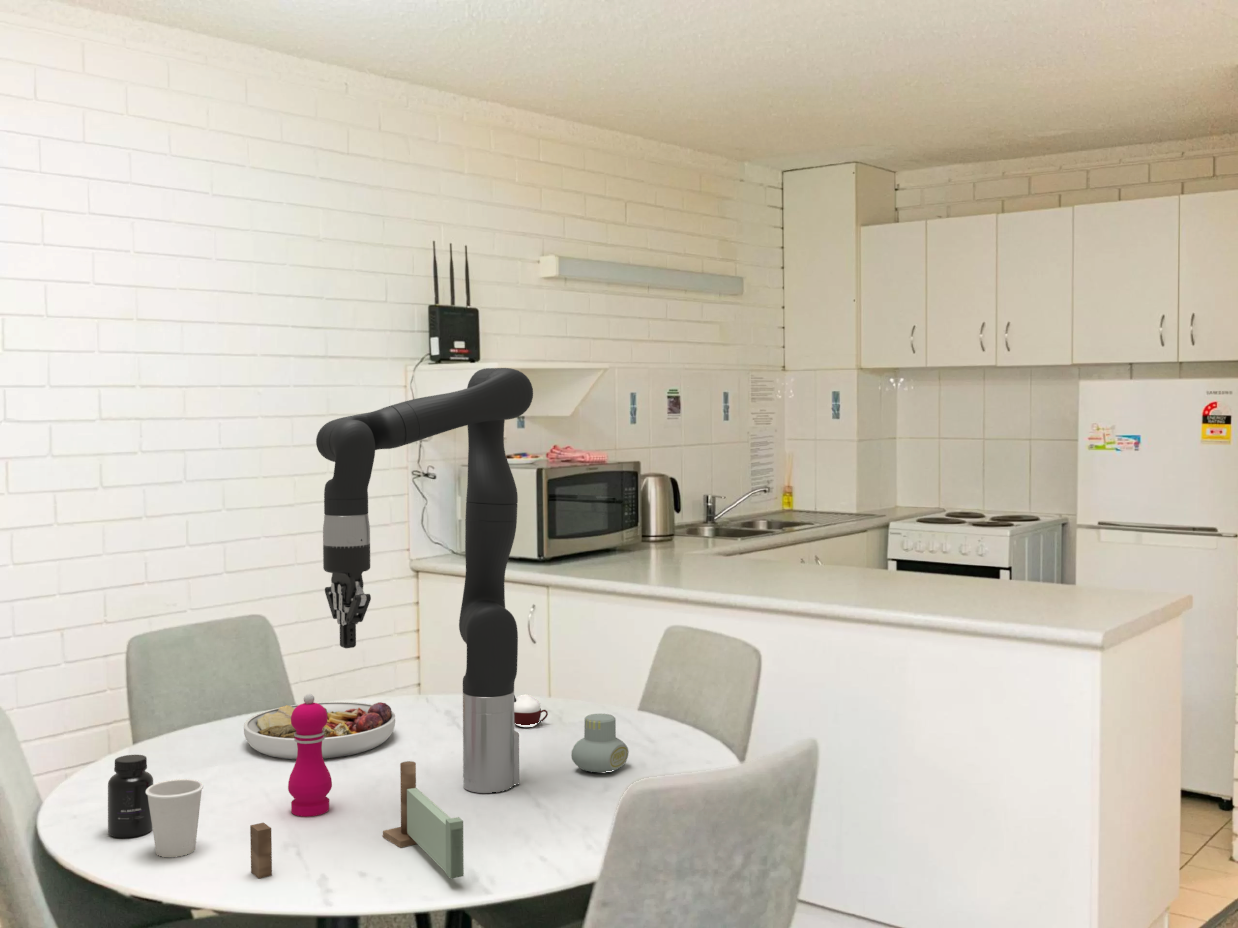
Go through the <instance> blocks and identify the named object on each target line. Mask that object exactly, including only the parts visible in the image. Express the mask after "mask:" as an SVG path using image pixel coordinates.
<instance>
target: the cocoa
mask: <svg viewBox="0 0 1238 928" xmlns="http://www.w3.org/2000/svg"><path fill="white" fill-rule="evenodd" d="M544 712H545V716H544V717H543V718H541V715H542V713H544ZM548 715H549V713H548V711H547V710H546V709H541V703H540V701H539V700H538V699H537V698H536V697H534V696H533V695H531V694H525V693H524V694H520V695H517V697H516V695H515V694H514V724H515V723H516V724H521V725H530V724H535V723H538V722H539V721H542V722H543V721H545V719H546V718H547V717H548ZM516 724H515V725H516Z"/></svg>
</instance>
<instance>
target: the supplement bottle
mask: <svg viewBox="0 0 1238 928" xmlns="http://www.w3.org/2000/svg"><path fill="white" fill-rule="evenodd" d="M147 761H148V759H147V756H145V755H143V754H127V755H122V756H118V757H117V758H115V759H114V767H113V772H115V774H113V775H112V776H111V777H110V778H109V779H108V783H107V831H108V834H109V836H111V837H113V838H116V839H117V838H118V839H130V838H138V837H141V836H145V835H147V834H149V833H150V832H151V831H153V828H152V821H151V815H150V808H149V802H148V795H147V794H146V789H147V788H148V787H150V786H151V785H153V784H154V776H152V774H151V773H149V772H148V771H146V770H147V769H148V764H147V763H148V762H147Z"/></svg>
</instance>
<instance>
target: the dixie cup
mask: <svg viewBox="0 0 1238 928" xmlns="http://www.w3.org/2000/svg"><path fill="white" fill-rule="evenodd" d="M203 789H204V784H203V783H202V782H201V781H199V780H197V779H192V778H191V779H190V778H189V779H187V778H181V779H180V778H179V779H177V778H176V779H169V780H164V781H159V782H156V783H153V785H151V786H150V787H148V788H147V789H146V794H147V795H148V802H149V808H150V815H151V821H152V832H153V833H152V834H153V840H154V846H155V847H154V848H155V853H156V855H157V856H158V855H159V856H158V857H160V856H162V857H161V858H164V857H175V858H177V857H176V856H181V857H183V856H182V855H185V856H187V854H188V855H190V854H192V853H193V851H194V850H196V846H197V845H196V844H197V835H198V826H199V818H200V817H199V816H200V810H201V809H200V808H201V801H202V800H201V799H202V790H203ZM194 852H195V851H194Z"/></svg>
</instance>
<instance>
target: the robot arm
mask: <svg viewBox="0 0 1238 928" xmlns="http://www.w3.org/2000/svg"><path fill="white" fill-rule="evenodd" d="M533 397H534V390H533V385H532V382H531V380H530V378H529V377H528V376H527V375H526V374H525V373H523V372H522V371H520V370H518V369H514V368H512V367H511V368H509V367H492V368H490V367H488V368H485V367H484V368H482V369H478V370H477V371H476V372H474V373H473V375H472V376H471V377H470V379H469V381H468V383H467V387H466V388H464V389H460V390H457V391H451V392H447V393H441V394H436V395H429V396H424V397H419V398H414V399H410V400H409V399H408V400H405V401H401V402H399V403H395V404H392V405H391V404H390V405H388V406H385V407H381V408H380V409H377V410H374V411H370V412H365V413H359V414H352V415H348V416H344V417H340V418H337V419H333V420H331V421H330V420H329V421H328V422H326V423H325V424H323V425H322V426H321V428H320V429H319V431H318V433H317V434H316V439H315V442H316V443H315V445H316V448H317V450H318V452H319V454H320V455H321V456H322V457H323V458H324V459H326V460H328V461H329V462H334V469H333V476H332V478H330V479H329V480H328V481H326V483H325V484H324V491H323V498H324V499H323V503H324V504H323V505H324V506H323V512H324V513H323V514H324V515H323V517H324V518H323V524H322V525H323V526H322V557H323V558H322V561H323V563H322V564H323V566H322V567H323V568H322V569H323V571H324V572H326V573H328V574H329V573H331V580H330V581H331V584H330V586H326V587H324V594H325V597H326V601H327V603H328V607H329V609H330V613H331V616H332V619H333V620H336V621H337V624H338V625H339V646H340V647H341V648H343V649H353V648H355V647H356V645H357V625H358V624H359V623H362V622H363V621H364V619H365V616H366V613H367V612H368V611H367V610H368V607H369V605H370V603H371V600H372V596H371V594H370V593H365V592H364V580H363V573H364V572H367V571H369V570H370V569H371V525H370V519H369V492H368V489H369V484H370V481H371V477H372V472H373V468H374V467H373V466H374V462H375V457H376V451H378V450H390V449H391V450H392V449H397V448H400V447H402V446H406V445H409V444H413V443H415V442H418V441H421V440H424V439H427V438H430V437H434V436H436V435H440V434H443V433H445V432H449V431H453V430H456V429H458V428H462V427H467V436H468V437H467V440H468V443H467V444H468V452H467V482H466V483H467V486H466V497H465V498H466V499H465V501H466V502H465V520H464V521H465V525H464V526H465V531H464V534H465V536H464V538H465V540H464V542H465V543H464V545H465V546H464V551H465V552H464V553H465V554H464V555H465V557H464V558H465V579H464V586H463V592H462V593H463V594H462V601H461V607H460V613H459V620H458V621H459V622H458V629H459V634H460V636H461V638H462V641H463V642H464V643H465V644H466V666H465V667H466V670H465V674H464V676H463V678H462V763H463V766H462V769H463V770H462V771H463V773H462V779H463V780H462V781H463V782H462V783H463V788H464V789H465V790H466V791H469V792H473V793H478V794H493V793H492V792H496V793H500V791H502V792H504V791H503V790H506V791H508V790H507V789H509V788H510V787H512V786H513V785H514V784H518V783H519V784H520V734H519V731H516V730H515V723H514V695H515V681H516V678H517V674H518V655H519V653H518V651H519V650H518V649H519V645H518V644H519V639H518V638H519V633H518V625H517V621H516V619H515V617H514V615H513V614H512V613H511V611H509V610H508V609H507V608H506V597H505V593H506V592H505V579H506V577H505V576H506V570H507V565H508V561H509V558H510V555H511V552H512V549H513V544H514V541H515V538H516V531H517V520H518V501H519V499H518V498H519V497H518V489H517V485H516V481H515V479H514V475H513V472H512V469H511V467H510V465H509V462H508V461H509V460H508V458H507V455H506V451H505V437H504V436H505V423H506V422H505V421H507V420H513V419H516V418H519V417H521V416H522V415H523V414H525V413H526V412H527V411H528V410H529V408H530V407H531V404H532V402H533ZM512 788H513V787H512ZM509 790H510V789H509Z"/></svg>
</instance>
